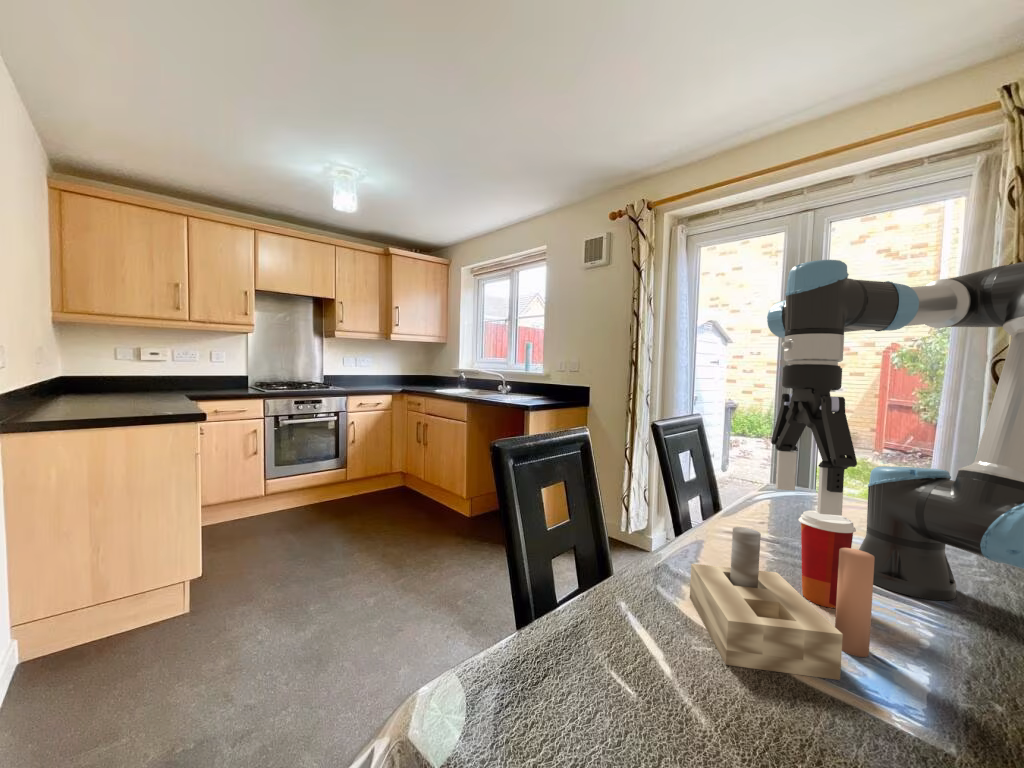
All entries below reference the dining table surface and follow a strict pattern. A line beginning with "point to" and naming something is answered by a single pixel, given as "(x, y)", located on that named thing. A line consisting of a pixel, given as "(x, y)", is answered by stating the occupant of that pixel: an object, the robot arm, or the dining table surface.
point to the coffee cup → (822, 554)
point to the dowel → (854, 600)
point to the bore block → (762, 616)
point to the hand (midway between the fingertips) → (805, 500)
